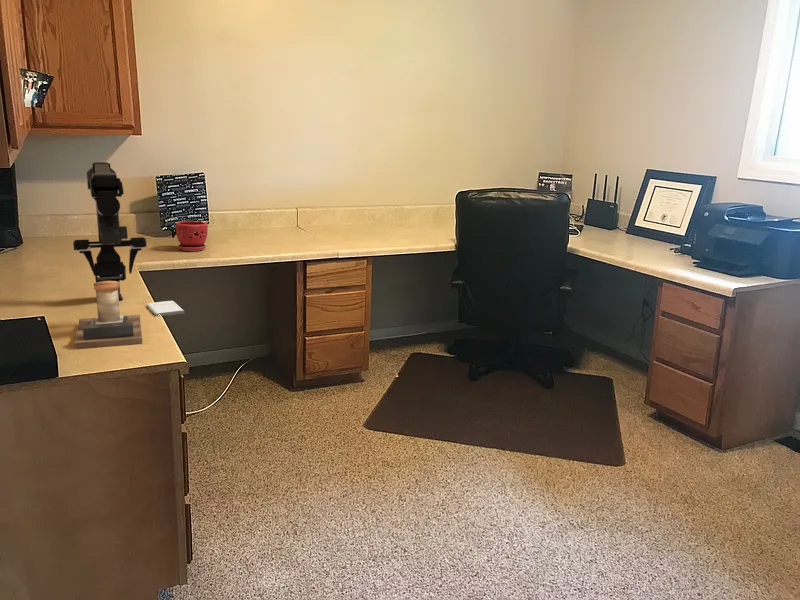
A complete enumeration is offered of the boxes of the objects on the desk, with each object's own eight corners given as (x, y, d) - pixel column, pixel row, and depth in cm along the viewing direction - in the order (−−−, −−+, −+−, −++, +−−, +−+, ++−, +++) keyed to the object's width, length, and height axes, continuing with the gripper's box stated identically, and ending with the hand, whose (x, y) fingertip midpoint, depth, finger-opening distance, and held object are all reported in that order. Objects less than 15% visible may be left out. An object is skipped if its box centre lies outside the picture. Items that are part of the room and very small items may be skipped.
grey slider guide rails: (86, 321, 191) (85, 311, 191) (132, 318, 196) (131, 308, 195) (83, 339, 177) (82, 328, 176) (133, 336, 181) (132, 325, 180)
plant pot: (207, 252, 296) (206, 224, 293) (175, 252, 293) (174, 224, 290) (209, 246, 308) (208, 220, 305) (178, 246, 306) (177, 220, 302)
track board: (79, 323, 194) (79, 318, 194) (140, 319, 200) (139, 314, 199) (75, 348, 174) (74, 343, 174) (142, 343, 180) (142, 337, 180)
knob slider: (96, 320, 192) (92, 281, 189) (123, 318, 195) (120, 279, 192) (95, 327, 186) (91, 287, 183) (123, 325, 188) (120, 285, 185)
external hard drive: (156, 318, 204) (146, 308, 214) (184, 315, 208) (173, 304, 218) (156, 313, 203) (146, 302, 213) (184, 310, 208) (173, 299, 218)
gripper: (71, 218, 181) (76, 277, 182) (145, 216, 189) (150, 272, 190) (71, 220, 191) (76, 276, 192) (142, 218, 199) (147, 272, 200)
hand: (112, 274), depth 193 cm, fingers open, 9 cm apart
